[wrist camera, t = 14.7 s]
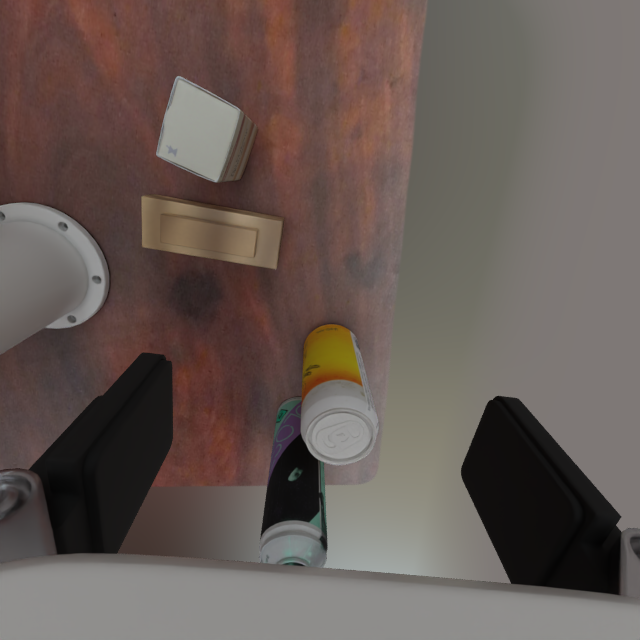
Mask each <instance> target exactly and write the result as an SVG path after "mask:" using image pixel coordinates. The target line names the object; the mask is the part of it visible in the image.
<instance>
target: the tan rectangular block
mask: <svg viewBox="0 0 640 640" xmlns="http://www.w3.org/2000/svg"><path fill="white" fill-rule="evenodd" d="M283 225H284V218H283V217H278V216H272V215H267V214H261V213H256V212H250V211H245V210H239V209H234V208H228V207H223V206H217V205H211V204H206V203H200V202H195V201H189V200H184V199H178V198H173V197H167V196H162V195H156V194H150V195H145V196H142V247H144V248H150V249H156V250H162V251H168V252H174V253H180V254H186V255H192V256H198V257H204V258H210V259H216V260H222V261H228V262H234V263H240V264H246V265H252V266H258V267H264V268H270V269H276V268H277V265H278V262H279V254H280V247H281V240H282V233H283Z"/></svg>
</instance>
